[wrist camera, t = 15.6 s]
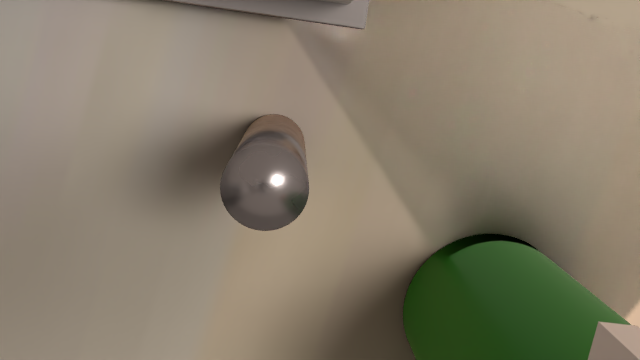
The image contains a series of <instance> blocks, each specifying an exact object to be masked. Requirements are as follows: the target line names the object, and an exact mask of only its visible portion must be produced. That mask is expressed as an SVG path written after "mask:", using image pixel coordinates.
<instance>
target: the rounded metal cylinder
mask: <svg viewBox="0 0 640 360" xmlns="http://www.w3.org/2000/svg"><path fill="white" fill-rule="evenodd" d="M220 191H221V197H222V201H223V203H224V206H225V207H226V209H227V211H228V212H229V214H230V215H231V216H232V217H233V218H234V219H235V220H236V221H238V222H239V223H241V224H242V225H244V226H246V227H248V228H251V229H255V230H262V231H268V230H275V229H279V228H282V227H284V226H286V225H288V224H290V223H291V222H292V221H294V220H295V219H296V218H297V217H298V216H299V215H300V213H301V212H302V211H303V209H304V207H305V205H306V202H307V199H308V194H309V182H308V172H307V162H306V152H305V142H304V137H303V134H302V131H301V129H300V128H299V127H298V125H297V124H296V123H295V122H294V121H292V120H291V119H289V118H288V117H285V116H283V115H278V114H269V115H265V116H262V117H260V118H258V119H256V120H255V121H254V122H253V123H252V124H251V125H250V126H249V127H248V129H247V131H246V132H245V134H244V136H243V138H242V139H241V141H240V143H239V145H238V146H237V148H236V150H235V152H234V153H233V155H232V157H231V159H230V160H229V162H228V164H227V166H226V167H225V169H224V172H223V174H222V177H221V183H220Z"/></svg>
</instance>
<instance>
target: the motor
mask: <svg viewBox="0 0 640 360" xmlns="http://www.w3.org/2000/svg"><path fill="white" fill-rule="evenodd" d="M598 322H607V323H616V324H625V325H631V324H630V323H628V322H627V321H626V320H625V319H623V318H622V317H621V316H620V315H618V314H617V313H616V312H615V311H613V310H612V309H611V308H610V307H608V306H607V305H606V304H605V303H603V302H602V301H601V300H600V299H598V298H597V297H596V296H595V295H593V294H592V293H591V292H590V291H589V290H587V289H586V288H585V287H584V286H582V285H581V284H580V283H579V282H577V281H576V280H575V279H574V278H572V277H571V276H570V275H569V274H567V273H566V272H565V271H564V270H562V269H561V268H560V267H559V266H557V265H556V264H555V263H554V262H553V261H551V260H550V259H549V258H548V257H546V256H545V255H544V254H543V253H541V252H540V251H539V250H538V249H536V248H535V247H534V246H532V245H531V244H529V243H527V242H525V241H523V240H521V239H519V238H516V237H512V236H509V235H503V234H478V235H472V236H468V237H465V238H462V239H459V240H456V241H454V242H452V243H450V244H448V245H446V246H445V247H443V248H441V249H440V250H438V251H437V252H436V253H434V254H433V255H432V256H431V257H430V258H429V259H428V260H427V261H426V262H425V263H424V264H423V265H422V266H421V267H420V269H419V270H418V271H417V273H416V274H415V276H414V278H413V279H412V281H411V283H410V285H409V288H408V290H407V293H406V297H405V301H404V307H403V324H404V329H405V333H406V337H407V339H408V342H409V344H410V347H411V349H412V351H413V354H414V356H415V359H416V360H588V357H589V353H590V350H591V346H592V342H593V339H594V335H595V332H596V328H597V325H598Z"/></svg>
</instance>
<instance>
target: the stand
mask: <svg viewBox="0 0 640 360" xmlns="http://www.w3.org/2000/svg"><path fill="white" fill-rule="evenodd" d="M164 1H171V2H178V3H185V4H192V5H198V6H205V7H212V8H219V9H226V10H233V11H240V12H247V13H254V14H260V15H267V16H274V17H281V18H288V19H295V20H302V21H309V22H316V23H322V24H329V25H336V26H343V27H350V28H357V29H364V28H365V25H366V19H367V12H368V5H369V0H164Z"/></svg>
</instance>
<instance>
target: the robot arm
mask: <svg viewBox="0 0 640 360" xmlns="http://www.w3.org/2000/svg"><path fill="white" fill-rule="evenodd" d="M588 360H640V328H639V327H638V326H634V325H625V324H616V323H607V322H598V325H597V328H596V332H595V335H594V339H593V342H592V346H591V350H590V353H589V357H588Z"/></svg>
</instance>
